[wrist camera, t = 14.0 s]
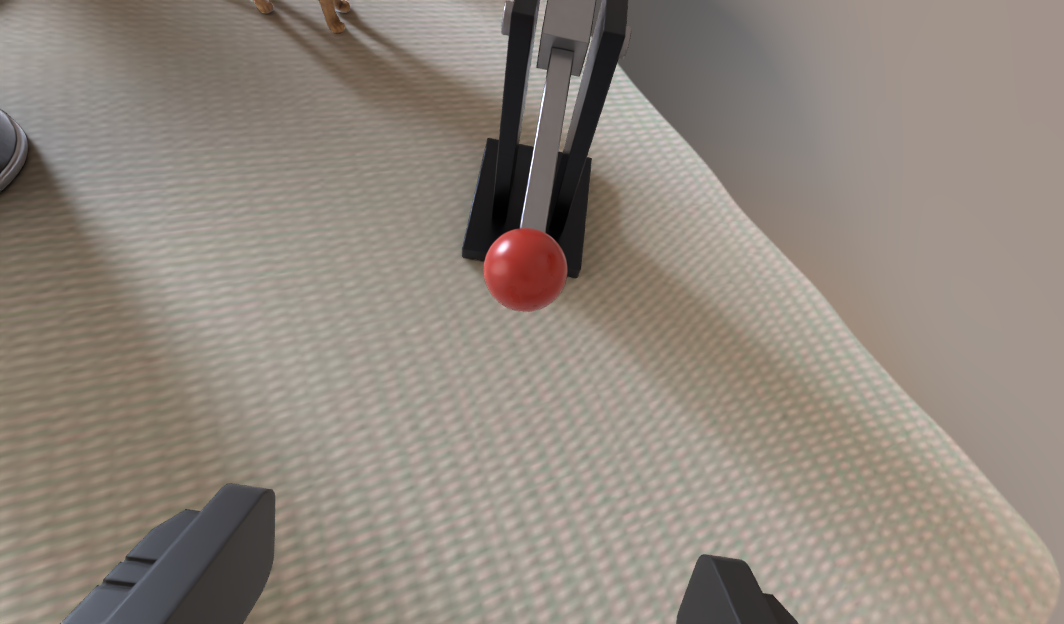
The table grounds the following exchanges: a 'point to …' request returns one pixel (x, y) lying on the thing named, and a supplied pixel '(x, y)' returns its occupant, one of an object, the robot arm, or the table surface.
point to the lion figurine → (329, 4)
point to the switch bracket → (511, 161)
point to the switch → (542, 170)
